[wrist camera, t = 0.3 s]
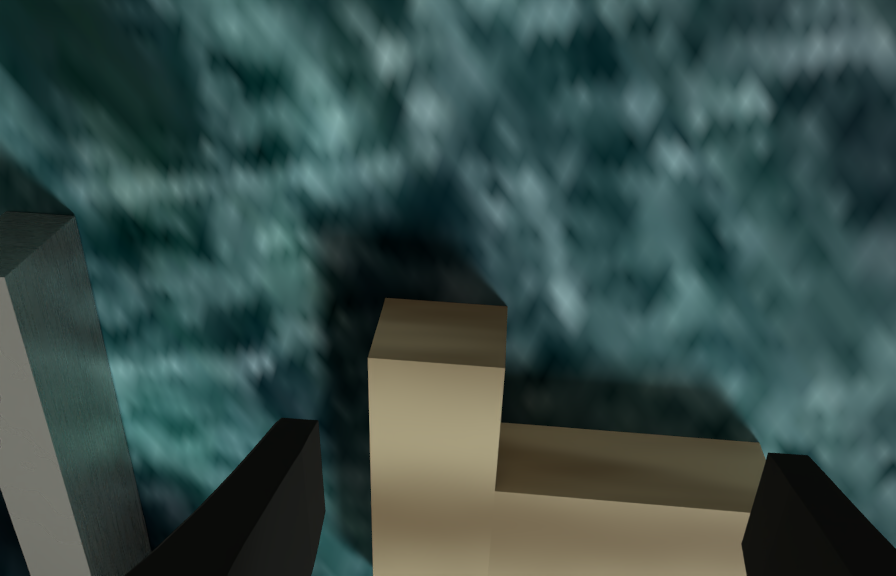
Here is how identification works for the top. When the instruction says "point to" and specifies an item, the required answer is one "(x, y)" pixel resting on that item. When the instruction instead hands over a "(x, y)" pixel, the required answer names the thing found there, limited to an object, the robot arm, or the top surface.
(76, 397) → the rail
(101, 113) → the top surface
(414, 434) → the maple t block
